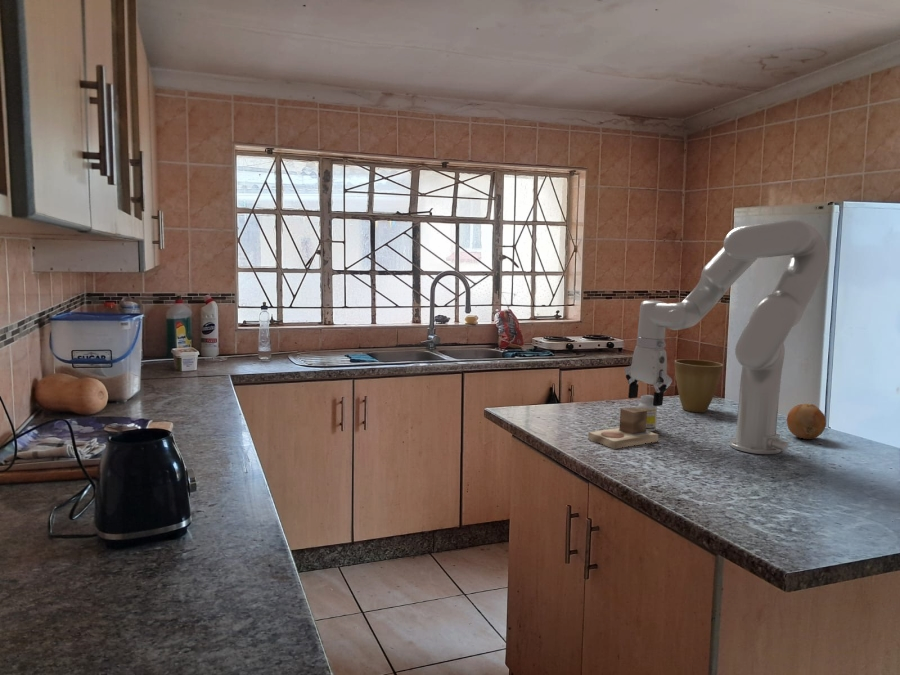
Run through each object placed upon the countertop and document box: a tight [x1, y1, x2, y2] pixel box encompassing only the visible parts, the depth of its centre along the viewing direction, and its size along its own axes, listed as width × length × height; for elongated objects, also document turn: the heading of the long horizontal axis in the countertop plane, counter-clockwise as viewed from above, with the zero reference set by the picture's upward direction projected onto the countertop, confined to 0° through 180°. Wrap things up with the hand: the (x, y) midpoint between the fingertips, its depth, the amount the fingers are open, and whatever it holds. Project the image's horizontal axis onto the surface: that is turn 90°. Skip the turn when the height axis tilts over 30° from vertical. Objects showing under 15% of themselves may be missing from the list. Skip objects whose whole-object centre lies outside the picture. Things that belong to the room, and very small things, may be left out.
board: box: [587, 427, 659, 450], centre depth 182 cm, size 10×16×2 cm, turn 120°
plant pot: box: [674, 358, 724, 413], centre depth 220 cm, size 15×15×16 cm
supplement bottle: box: [637, 394, 658, 432], centre depth 194 cm, size 5×5×10 cm
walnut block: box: [618, 406, 647, 434], centre depth 183 cm, size 5×5×6 cm
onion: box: [786, 403, 827, 440], centre depth 188 cm, size 10×10×10 cm
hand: (644, 401), depth 194 cm, fingers open, 9 cm apart
